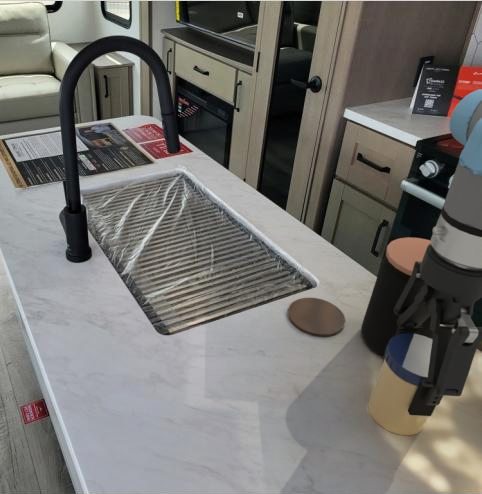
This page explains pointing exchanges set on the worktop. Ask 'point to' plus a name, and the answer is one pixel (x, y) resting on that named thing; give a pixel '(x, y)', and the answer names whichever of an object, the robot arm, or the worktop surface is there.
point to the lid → (409, 356)
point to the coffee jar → (392, 293)
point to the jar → (394, 403)
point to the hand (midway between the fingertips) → (406, 386)
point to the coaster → (316, 317)
